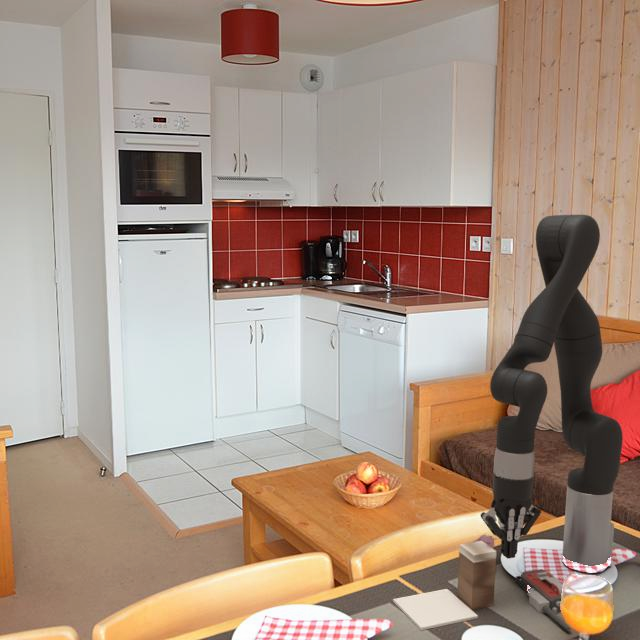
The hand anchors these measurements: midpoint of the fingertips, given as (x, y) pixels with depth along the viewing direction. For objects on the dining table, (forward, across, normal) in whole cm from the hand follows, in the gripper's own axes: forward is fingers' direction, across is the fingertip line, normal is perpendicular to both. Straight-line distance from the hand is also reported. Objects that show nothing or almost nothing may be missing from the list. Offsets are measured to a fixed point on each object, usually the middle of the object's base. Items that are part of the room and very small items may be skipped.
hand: (508, 556), depth 154 cm
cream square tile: (+8, +16, 0) cm, 18 cm away
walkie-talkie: (+9, -6, +6) cm, 12 cm away
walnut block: (+8, +7, 0) cm, 11 cm away
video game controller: (+8, -3, -14) cm, 17 cm away
